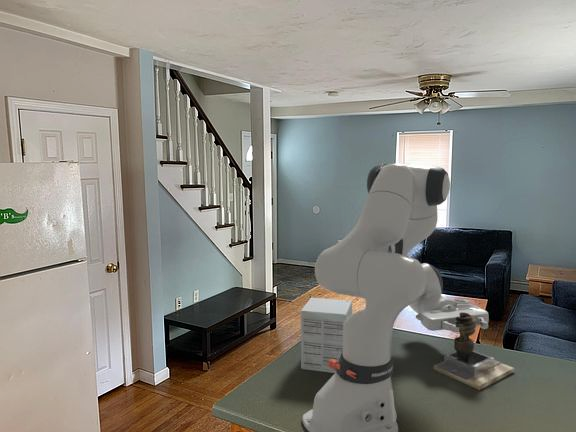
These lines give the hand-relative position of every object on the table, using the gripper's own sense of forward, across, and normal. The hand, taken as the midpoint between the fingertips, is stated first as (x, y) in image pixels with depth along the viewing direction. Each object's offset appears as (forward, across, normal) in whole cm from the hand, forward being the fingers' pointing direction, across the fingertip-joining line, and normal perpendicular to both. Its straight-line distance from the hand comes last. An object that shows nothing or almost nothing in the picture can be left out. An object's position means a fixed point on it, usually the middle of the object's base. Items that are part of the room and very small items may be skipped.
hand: (471, 328), depth 122 cm
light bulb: (-1, -2, +11) cm, 11 cm away
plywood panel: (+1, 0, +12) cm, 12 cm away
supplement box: (-16, -38, +12) cm, 42 cm away
